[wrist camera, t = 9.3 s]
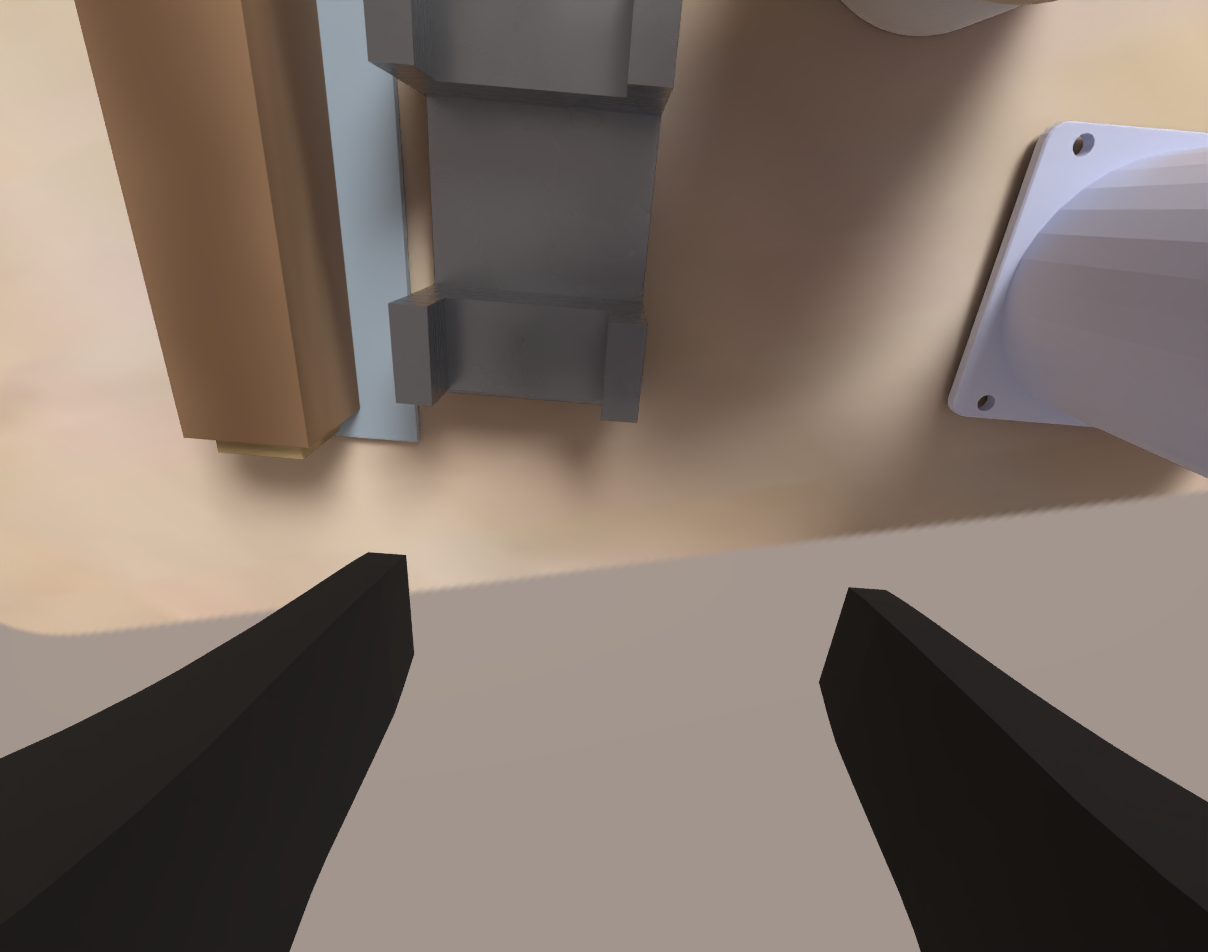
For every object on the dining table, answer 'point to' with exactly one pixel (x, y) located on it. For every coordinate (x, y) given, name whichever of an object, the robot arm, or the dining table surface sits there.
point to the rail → (232, 211)
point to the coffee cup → (930, 13)
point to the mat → (368, 213)
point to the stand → (531, 193)
